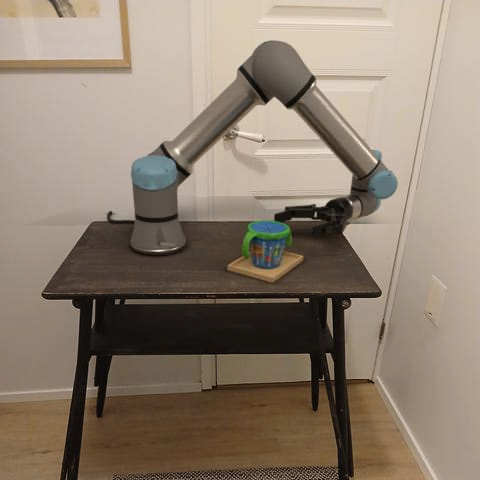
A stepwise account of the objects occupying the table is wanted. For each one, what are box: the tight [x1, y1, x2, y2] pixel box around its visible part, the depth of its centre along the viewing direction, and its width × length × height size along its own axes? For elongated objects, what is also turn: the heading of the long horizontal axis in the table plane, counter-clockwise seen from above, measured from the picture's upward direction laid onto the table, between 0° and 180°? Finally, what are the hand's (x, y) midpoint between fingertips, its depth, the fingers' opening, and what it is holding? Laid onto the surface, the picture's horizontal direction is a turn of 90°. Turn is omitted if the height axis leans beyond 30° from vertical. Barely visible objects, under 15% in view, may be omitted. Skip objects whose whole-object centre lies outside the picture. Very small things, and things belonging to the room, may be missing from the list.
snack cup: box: [241, 220, 293, 269], centre depth 125 cm, size 16×10×10 cm
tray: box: [226, 250, 304, 284], centre depth 127 cm, size 13×17×1 cm
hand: (293, 225), depth 129 cm, fingers open, 13 cm apart
